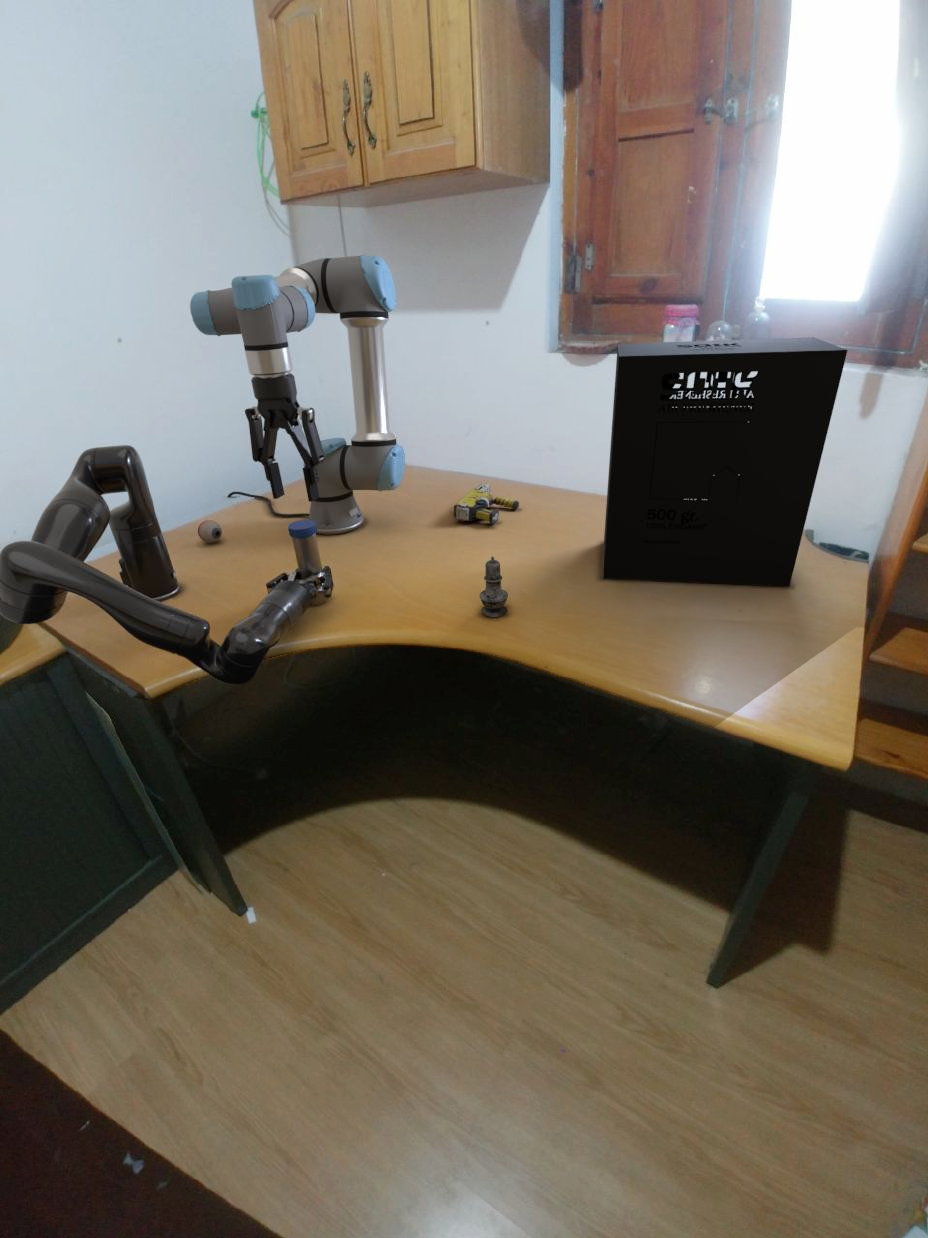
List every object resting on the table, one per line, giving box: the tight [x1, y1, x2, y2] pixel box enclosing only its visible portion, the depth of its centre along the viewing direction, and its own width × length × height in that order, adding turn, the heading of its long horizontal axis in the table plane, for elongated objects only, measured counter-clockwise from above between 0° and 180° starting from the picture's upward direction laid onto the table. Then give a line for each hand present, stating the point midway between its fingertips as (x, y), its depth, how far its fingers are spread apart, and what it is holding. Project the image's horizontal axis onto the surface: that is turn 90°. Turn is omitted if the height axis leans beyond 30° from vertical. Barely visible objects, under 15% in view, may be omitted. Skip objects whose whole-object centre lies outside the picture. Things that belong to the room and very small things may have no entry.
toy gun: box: [452, 482, 520, 526], centre depth 172 cm, size 5×24×15 cm
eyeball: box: [197, 519, 223, 544], centre depth 161 cm, size 6×6×6 cm
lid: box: [287, 519, 317, 538], centre depth 122 cm, size 6×6×2 cm
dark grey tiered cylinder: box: [478, 555, 509, 618], centre depth 119 cm, size 6×6×12 cm
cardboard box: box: [602, 336, 849, 588], centre depth 126 cm, size 38×20×45 cm, turn 78°
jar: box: [291, 533, 329, 606], centre depth 126 cm, size 5×5×17 cm
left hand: (316, 569), depth 130 cm, fingers open, 5 cm apart
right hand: (296, 497), depth 119 cm, fingers open, 7 cm apart
